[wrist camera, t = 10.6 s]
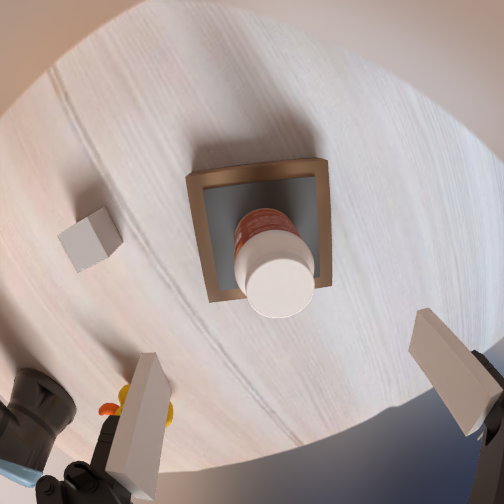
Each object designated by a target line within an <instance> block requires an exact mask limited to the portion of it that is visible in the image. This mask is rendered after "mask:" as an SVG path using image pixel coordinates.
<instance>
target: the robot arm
mask: <svg viewBox="0 0 504 504" xmlns="http://www.w3.org/2000/svg"><path fill="white" fill-rule="evenodd" d="M409 352H410V354H411V355H412V357H413V358H414V359H415V361H416V362H417V363H418V365H419V366H420V368H421V369H422V371H423V372H424V373H425V375H426V376H427V378H428V379H429V381H430V382H431V384H432V385H433V386H434V388H435V389H436V391H437V392H438V394H439V395H440V397H441V398H442V400H443V401H444V403H445V404H446V406H447V407H448V409H449V410H450V412H451V414H452V415H453V417H454V418H455V420H456V421H457V423H458V424H459V426H460V428H461V429H462V431H463V433H464V434H465V436H468V435H470V434H471V433H473V432H475V431H476V430H478V429H479V427H480V426H481V425H482V423H483V422H484V423H485V425H486V426H485V428H484V429H483V430H482V432H481V433H480V435H479V436H478V438H477V440H479V439H480V438H481V437H482V435H483V438H482V444H481V450H480V456H479V461H478V466H477V470H476V474H475V479H474V483H473V487H472V490H471V494H470V497H469V501H468V504H504V378H503V377H502V376H501V375H500V373H499V372H498V371H497V370H496V369H495V368H494V367H493V365H492V364H491V363H489V361H488V360H487V359H486V358H485V356H484V355H483V354H481V353H479V352H478V351H476V350H473V351H471V352H470V351H469V349H468V348H467V347H466V346H465V345H464V344H463V343H462V342H461V341H460V340H459V339H458V338H457V336H456V335H455V334H454V333H453V332H452V331H451V330H450V329H449V328H448V327H447V326H446V325H445V324H444V323H443V322H442V321H441V320H440V319H439V318H438V317H437V316H436V315H435V314H434V313H433V312H432V310H431V309H430V308H425V309H422V310H418V311H417V315H416V320H415V325H414V329H413V334H412V338H411V342H410V347H409ZM171 391H172V390H171V388H170V386H169V383H168V381H167V379H166V376H165V374H164V372H163V369H162V367H161V365H160V362H159V360H158V357H157V355H156V353H141V355H140V358H139V361H138V364H137V367H136V370H135V373H134V376H133V379H132V382H131V385H130V388H129V391H128V394H127V397H126V400H125V403H124V406H123V409H122V413H121V416H119V415H110V416H109V417H108V418H107V419H106V421H105V422H104V423H103V426H102V429H101V432H100V435H99V438H98V442H97V444H96V447H95V450H94V453H93V457H92V460H91V463H90V465H89V464H88V463H86V462H84V461H76V462H72V463H71V464H70V465H68V466H67V468H66V469H65V471H64V481H58V480H57V479H56V478H55V477H53V476H51V475H45V476H42V475H43V470H44V467H45V465H46V462H47V459H48V457H49V454H50V452H51V449H52V446H53V444H54V441H55V439H56V437H57V435H58V434H60V433H61V432H62V431H63V430H64V429H65V428H66V426H67V425H69V424H70V423H71V422H72V421H73V419H74V416H75V414H76V406H75V404H74V402H73V400H72V399H71V397H70V396H69V395H68V394H67V392H66V391H65V390H64V389H63V388H62V387H61V386H59V385H58V384H57V383H56V382H55V381H53V380H52V379H50V378H49V377H47V376H46V375H44V374H42V373H40V372H38V371H36V370H33V369H28V368H25V369H21V370H20V371H19V373H18V374H17V376H16V377H15V379H14V386H13V389H12V394H11V399H10V402H9V404H8V406H7V407H6V406H5V405H4V404H3V403H2V402H1V400H0V474H1V475H3V476H5V477H6V478H8V479H10V480H12V481H14V482H16V483H18V484H20V485H23V486H25V487H29V488H33V487H35V486H36V487H35V491H36V500H37V504H133V503H132V502H131V501H130V500H131V494H132V495H133V496H135V497H136V498H137V499H143V500H151V501H154V500H155V493H156V485H157V478H158V471H159V464H160V457H161V450H162V444H163V438H164V431H165V425H166V419H167V414H168V408H169V402H170V397H171ZM41 476H42V477H41Z"/></svg>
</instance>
